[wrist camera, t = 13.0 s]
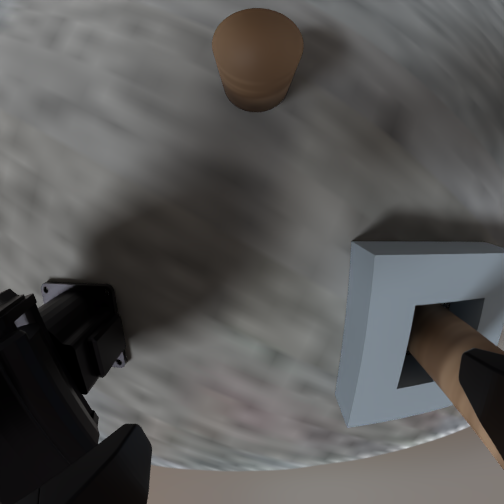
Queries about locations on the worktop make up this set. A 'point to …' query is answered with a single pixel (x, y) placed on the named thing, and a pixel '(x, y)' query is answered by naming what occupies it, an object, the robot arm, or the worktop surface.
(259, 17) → the short walnut pin
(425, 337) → the tall walnut pin
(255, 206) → the worktop surface
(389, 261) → the sleeve block
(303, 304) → the worktop surface
